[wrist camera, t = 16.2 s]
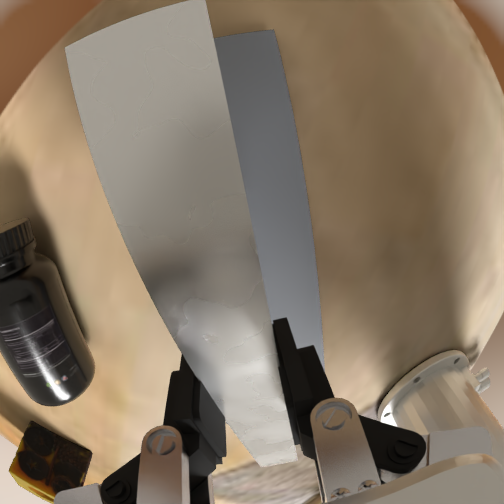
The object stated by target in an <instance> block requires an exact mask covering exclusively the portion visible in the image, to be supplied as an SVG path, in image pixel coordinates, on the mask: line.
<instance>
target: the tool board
mask: <svg viewBox="0 0 504 504" xmlns="http://www.w3.org/2000/svg"><path fill="white" fill-rule="evenodd" d="M214 43H215V48H216V52H217V57H218V62H219V67H220V71H221V76H222V81H223V86H224V91H225V95H226V100H227V105H228V110H229V115H230V120H231V124H232V129H233V134H234V139H235V144H236V149H237V154H238V159H239V163H240V168H241V173H242V178H243V183H244V188H245V193H246V198H247V203H248V208H249V213H250V218H251V223H252V228H253V233H254V238H255V243H256V248H257V253H258V258H259V263H260V268H261V273H262V278H263V283H264V288H265V293H266V298H267V303H268V308H269V313H270V318H271V323H272V324H273V320H276V319H281V318H285V317H287V319H288V322H289V325H290V328H291V332H292V335H293V338H294V341H295V344H296V347H297V349H299V348H303V347H307V346H311V345H314V347H315V349H316V351H317V354H318V356H319V359H320V361H321V364H322V367H323V369H324V372H325V368H324V349H323V334H322V320H321V307H320V296H319V285H318V275H317V266H316V257H315V248H314V240H313V232H312V224H311V217H310V210H309V203H308V196H307V189H306V183H305V176H304V170H303V164H302V158H301V152H300V147H299V141H298V136H297V130H296V125H295V120H294V115H293V110H292V105H291V100H290V95H289V91H288V86H287V82H286V77H285V73H284V68H283V64H282V60H281V56H280V52H279V48H278V44H277V40H276V36H275V32H274V30H265V31H256V32H248V33H241V34H235V35H229V36H223V37H218V38H214ZM225 421H226V420H225ZM226 423H227V422H226ZM227 424H228V423H227Z"/></svg>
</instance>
